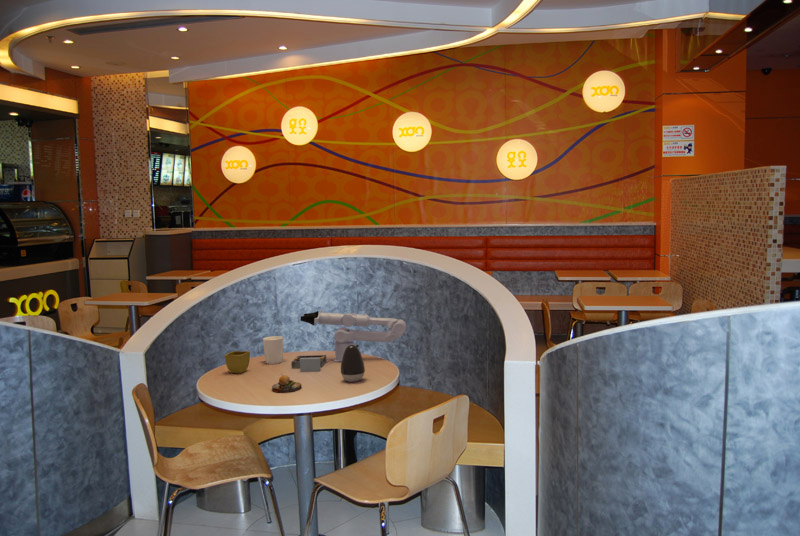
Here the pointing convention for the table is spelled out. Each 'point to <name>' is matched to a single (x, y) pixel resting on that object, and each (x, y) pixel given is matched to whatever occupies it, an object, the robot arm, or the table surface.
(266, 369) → the table surface
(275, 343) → the candle holder
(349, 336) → the robot arm
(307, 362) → the panel
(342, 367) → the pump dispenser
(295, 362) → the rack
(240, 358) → the flower pot
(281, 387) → the plate of food
